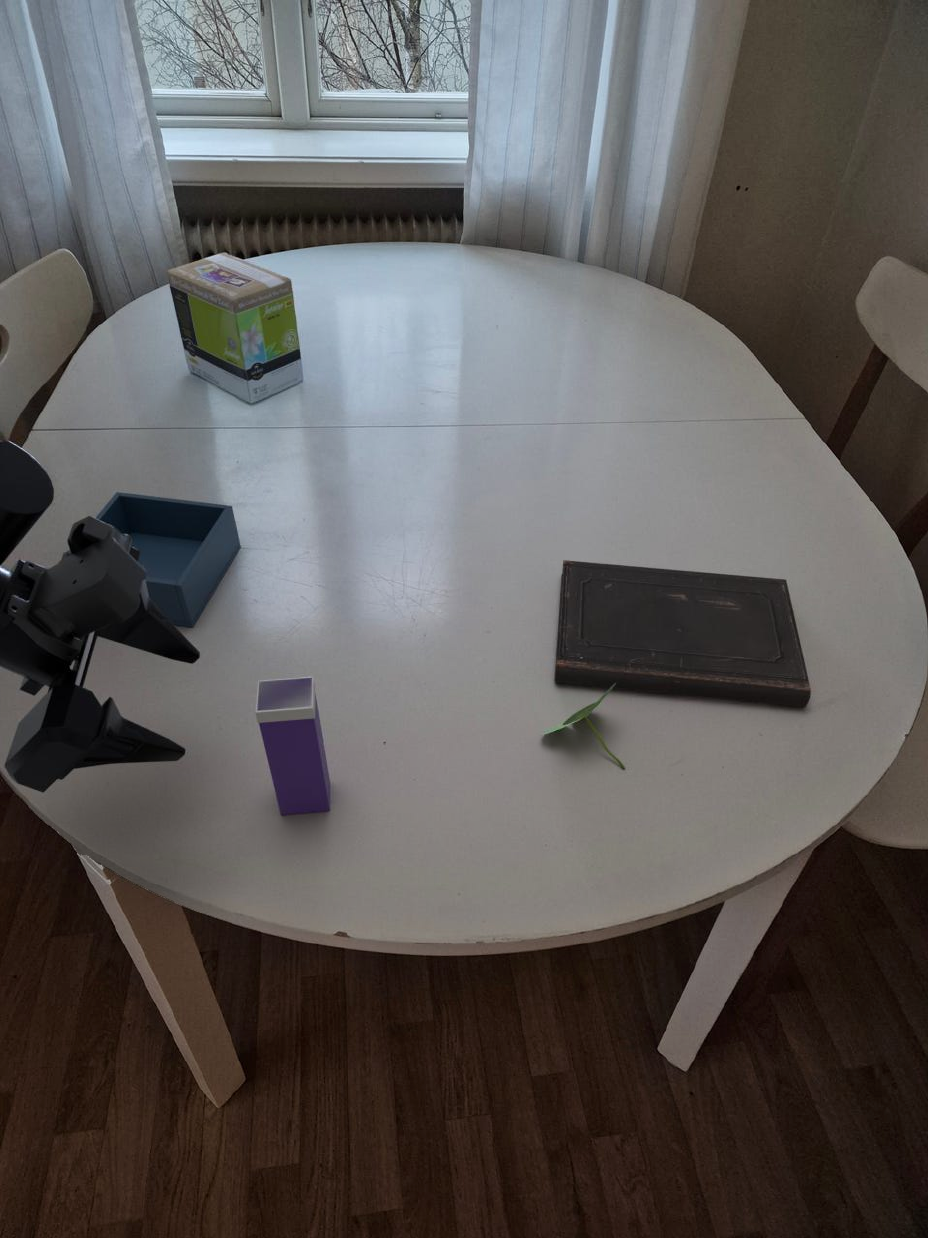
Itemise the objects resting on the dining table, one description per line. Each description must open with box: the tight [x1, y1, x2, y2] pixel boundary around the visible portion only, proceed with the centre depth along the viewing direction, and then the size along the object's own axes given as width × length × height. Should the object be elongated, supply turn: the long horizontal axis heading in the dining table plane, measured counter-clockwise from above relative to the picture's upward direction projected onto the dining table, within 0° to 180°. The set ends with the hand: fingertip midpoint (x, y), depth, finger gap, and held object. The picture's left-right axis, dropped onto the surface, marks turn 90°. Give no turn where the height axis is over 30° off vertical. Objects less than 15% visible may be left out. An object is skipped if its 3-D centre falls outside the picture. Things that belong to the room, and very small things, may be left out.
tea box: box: [166, 251, 304, 404], centre depth 119 cm, size 15×10×15 cm
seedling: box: [540, 683, 626, 770], centre depth 74 cm, size 7×8×7 cm
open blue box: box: [59, 491, 242, 628], centre depth 90 cm, size 13×13×6 cm
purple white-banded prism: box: [254, 676, 331, 816], centre depth 67 cm, size 4×3×13 cm
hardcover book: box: [553, 559, 812, 708], centre depth 85 cm, size 16×23×2 cm
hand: (190, 704), depth 62 cm, fingers open, 9 cm apart
